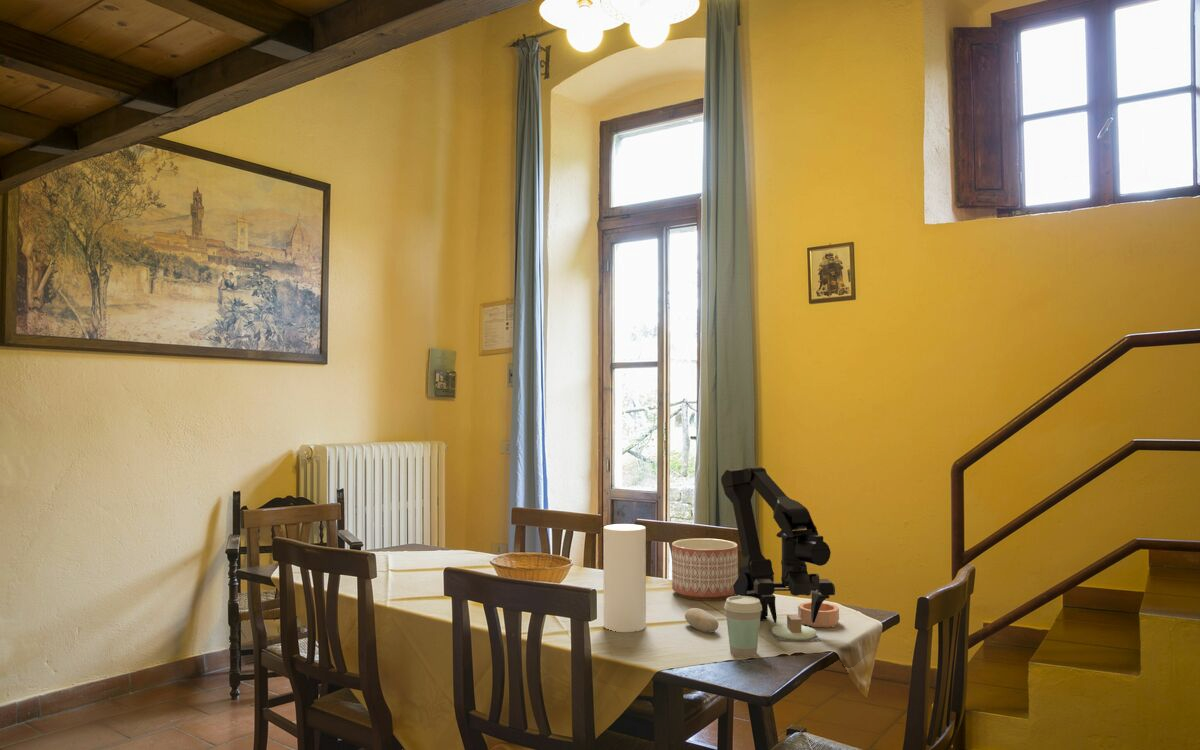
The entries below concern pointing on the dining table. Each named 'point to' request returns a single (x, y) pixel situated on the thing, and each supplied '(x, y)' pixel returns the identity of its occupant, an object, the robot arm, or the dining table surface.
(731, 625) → the coffee cup
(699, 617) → the stone
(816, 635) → the mat
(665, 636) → the dining table surface
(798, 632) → the lid
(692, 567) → the planter
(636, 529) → the tall pillar cylinder
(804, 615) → the bowl
